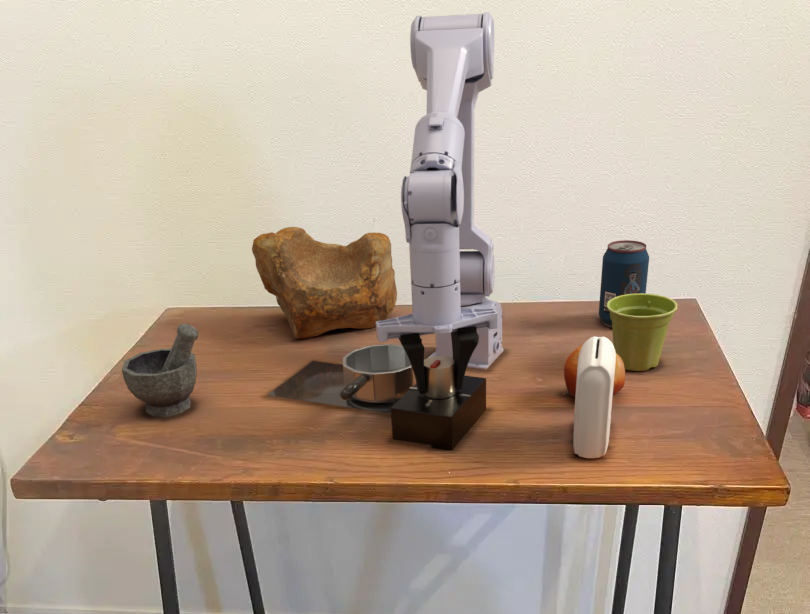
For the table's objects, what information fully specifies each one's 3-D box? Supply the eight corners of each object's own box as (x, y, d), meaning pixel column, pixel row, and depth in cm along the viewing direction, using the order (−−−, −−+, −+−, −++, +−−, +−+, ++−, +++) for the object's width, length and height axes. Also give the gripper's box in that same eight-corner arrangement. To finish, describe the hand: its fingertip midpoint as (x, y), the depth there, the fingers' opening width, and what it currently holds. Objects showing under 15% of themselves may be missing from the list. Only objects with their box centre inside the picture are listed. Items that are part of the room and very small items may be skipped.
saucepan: (366, 371, 127) (364, 340, 124) (433, 380, 123) (431, 348, 120) (310, 418, 115) (306, 385, 112) (382, 430, 111) (379, 396, 108)
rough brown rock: (242, 351, 139) (228, 259, 130) (267, 308, 152) (255, 221, 143) (387, 355, 137) (382, 261, 127) (399, 310, 150) (396, 222, 140)
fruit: (574, 366, 121) (603, 325, 115) (613, 406, 119) (644, 367, 113) (538, 385, 117) (566, 343, 110) (578, 427, 115) (608, 387, 108)
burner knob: (431, 384, 111) (429, 352, 109) (460, 387, 110) (459, 355, 108) (418, 396, 108) (416, 363, 106) (448, 400, 107) (447, 367, 105)
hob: (267, 396, 122) (267, 394, 122) (313, 362, 132) (313, 360, 132) (403, 417, 114) (403, 415, 114) (441, 379, 124) (441, 377, 124)
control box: (429, 401, 118) (428, 369, 115) (487, 410, 115) (487, 376, 112) (391, 440, 109) (389, 406, 106) (452, 450, 106) (451, 415, 103)
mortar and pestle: (121, 422, 118) (99, 337, 111) (149, 393, 125) (130, 312, 119) (199, 425, 116) (182, 338, 109) (223, 395, 123) (208, 312, 117)
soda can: (615, 311, 143) (621, 236, 136) (651, 320, 139) (659, 243, 132) (589, 323, 139) (594, 246, 133) (625, 333, 135) (632, 254, 128)
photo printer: (575, 420, 111) (581, 326, 104) (610, 422, 110) (618, 327, 103) (570, 459, 102) (575, 359, 96) (607, 461, 102) (615, 360, 95)
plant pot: (672, 377, 120) (679, 316, 115) (601, 375, 122) (606, 315, 117) (668, 352, 128) (675, 293, 123) (603, 350, 129) (607, 292, 125)
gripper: (379, 297, 97) (387, 409, 105) (505, 283, 99) (504, 394, 107) (370, 279, 103) (378, 386, 111) (489, 266, 105) (489, 372, 112)
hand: (439, 388), depth 109 cm, fingers closed on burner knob, 4 cm apart
